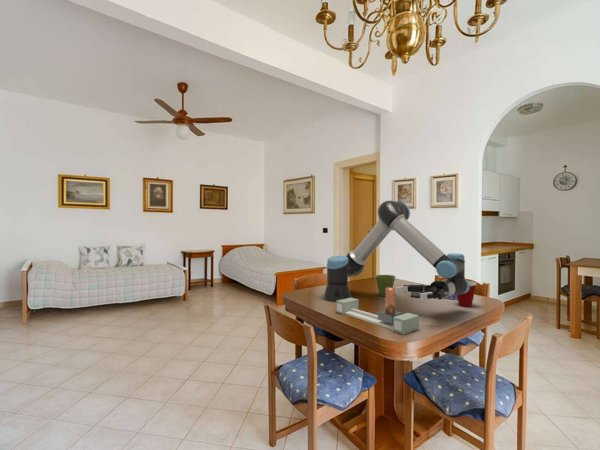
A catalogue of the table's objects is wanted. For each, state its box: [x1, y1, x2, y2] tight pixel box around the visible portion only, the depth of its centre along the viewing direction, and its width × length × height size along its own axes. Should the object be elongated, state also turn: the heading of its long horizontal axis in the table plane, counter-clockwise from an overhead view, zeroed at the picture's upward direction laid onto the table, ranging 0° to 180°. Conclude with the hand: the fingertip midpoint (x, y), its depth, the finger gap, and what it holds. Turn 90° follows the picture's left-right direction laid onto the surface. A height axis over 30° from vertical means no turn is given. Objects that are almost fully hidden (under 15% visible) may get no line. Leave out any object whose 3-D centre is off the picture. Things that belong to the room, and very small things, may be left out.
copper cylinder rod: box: [377, 287, 404, 323], centre depth 127 cm, size 7×7×13 cm
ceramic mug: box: [410, 282, 427, 298], centre depth 179 cm, size 11×8×8 cm
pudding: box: [442, 295, 458, 300], centre depth 175 cm, size 12×12×5 cm
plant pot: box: [374, 274, 396, 297], centre depth 181 cm, size 12×12×11 cm
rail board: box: [335, 297, 420, 336], centre depth 134 cm, size 37×10×6 cm, turn 37°
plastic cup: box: [457, 280, 478, 308], centre depth 158 cm, size 11×11×12 cm
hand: (407, 293), depth 132 cm, fingers open, 13 cm apart
